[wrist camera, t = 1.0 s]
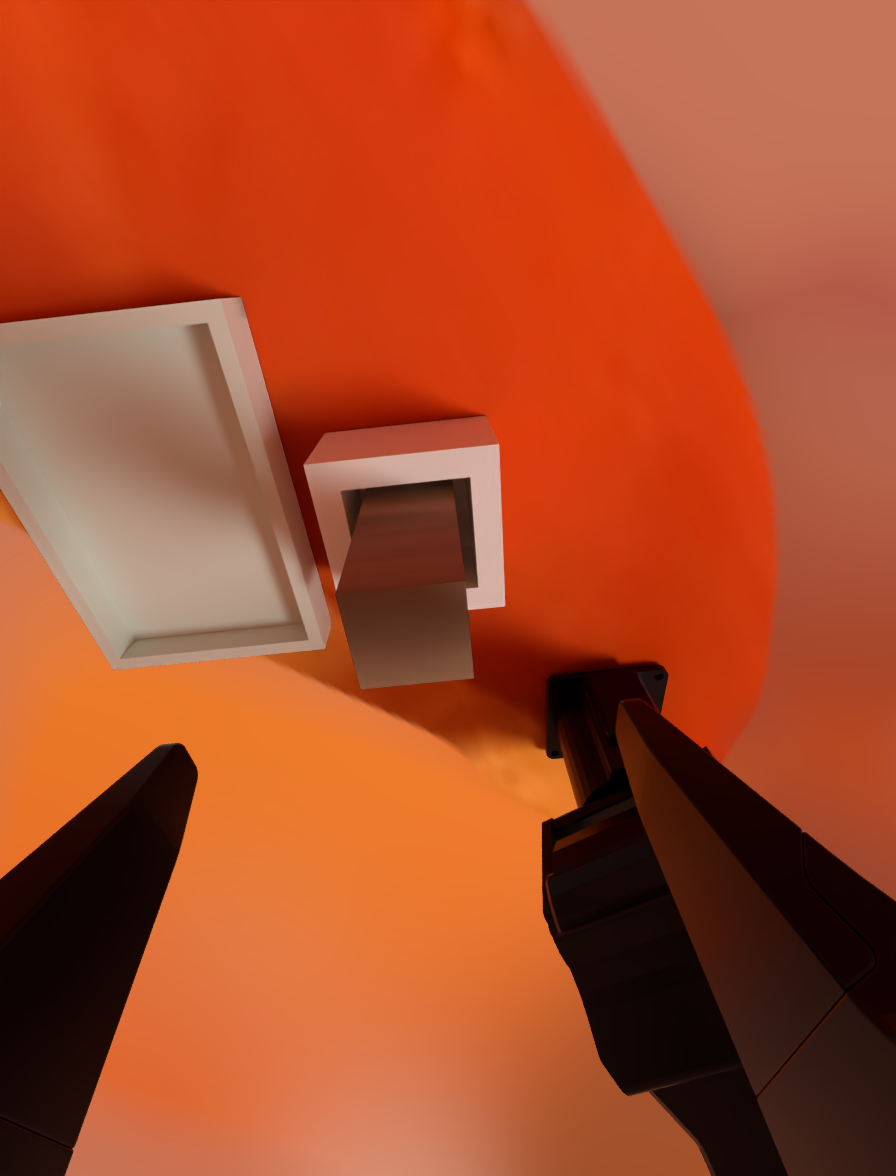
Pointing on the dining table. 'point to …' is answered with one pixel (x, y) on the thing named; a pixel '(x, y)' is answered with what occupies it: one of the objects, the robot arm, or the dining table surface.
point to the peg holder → (412, 458)
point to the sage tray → (158, 483)
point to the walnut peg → (406, 588)
